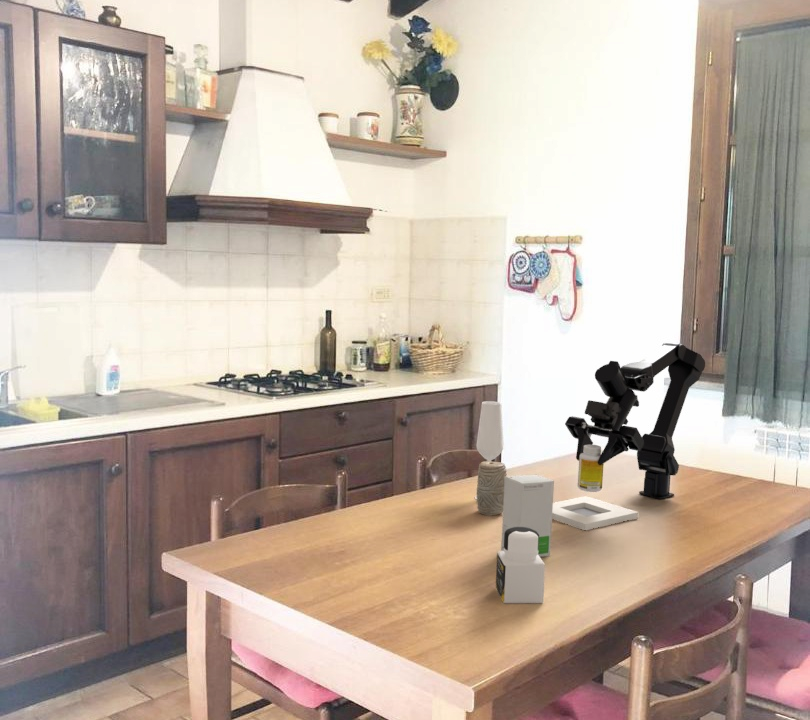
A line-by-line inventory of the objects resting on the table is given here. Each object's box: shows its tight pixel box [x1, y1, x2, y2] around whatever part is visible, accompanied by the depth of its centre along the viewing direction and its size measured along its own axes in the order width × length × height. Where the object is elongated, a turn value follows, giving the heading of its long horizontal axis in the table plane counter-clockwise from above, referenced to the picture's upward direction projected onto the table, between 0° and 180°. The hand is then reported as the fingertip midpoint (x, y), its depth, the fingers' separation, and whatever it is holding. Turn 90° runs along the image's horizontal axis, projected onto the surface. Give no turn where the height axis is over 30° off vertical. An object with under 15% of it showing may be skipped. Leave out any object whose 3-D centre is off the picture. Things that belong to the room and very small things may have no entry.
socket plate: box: [552, 495, 639, 531], centre depth 205 cm, size 18×16×2 cm
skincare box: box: [500, 474, 555, 558], centre depth 177 cm, size 8×7×16 cm
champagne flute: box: [474, 400, 504, 500], centre depth 216 cm, size 7×7×24 cm
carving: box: [476, 460, 508, 517], centre depth 204 cm, size 6×8×12 cm
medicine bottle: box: [495, 527, 546, 604], centre depth 154 cm, size 7×7×12 cm
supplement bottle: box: [577, 444, 605, 493], centre depth 203 cm, size 6×6×10 cm
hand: (588, 461), depth 202 cm, fingers closed on supplement bottle, 5 cm apart
